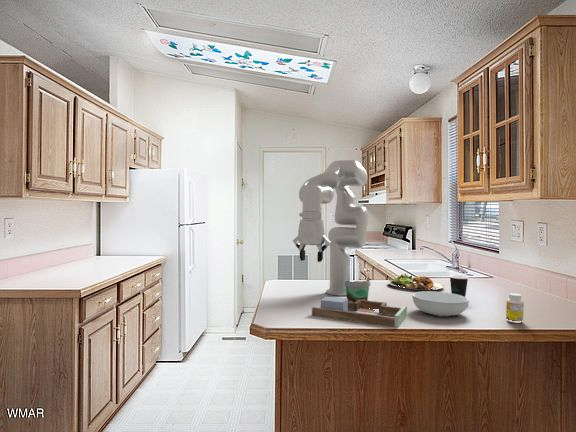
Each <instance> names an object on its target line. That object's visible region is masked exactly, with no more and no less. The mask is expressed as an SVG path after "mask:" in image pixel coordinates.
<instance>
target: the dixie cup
mask: <svg viewBox="0 0 576 432" xmlns="http://www.w3.org/2000/svg"><path fill="white" fill-rule="evenodd" d="M448 277H449V279H450V293H452V294H457V295H461V296H464V297H466V294H467V287H468V280H469V277H468V276H466V275H459V274H456V275H455V274H453V275H449V276H448Z"/></svg>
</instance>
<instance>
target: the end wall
mask: <svg viewBox="0 0 576 432" xmlns="http://www.w3.org/2000/svg"><path fill="white" fill-rule="evenodd" d="M400 308H401V309H400V310H399V311H398V312H397V314H396V315H395V316H394V317H395V328H399V327H400V326H401V324H402V323H403V322H404V320H405V319H406V318H407V317H408V316H407V313H408V306H407V305H403V306H402V307H400ZM406 316H407V317H406ZM405 317H406V318H405ZM404 318H405V319H404ZM402 321H403V322H402ZM401 322H402V323H401Z"/></svg>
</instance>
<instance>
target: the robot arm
mask: <svg viewBox="0 0 576 432" xmlns="http://www.w3.org/2000/svg"><path fill="white" fill-rule="evenodd" d="M367 182H368V172H367V170H366V169H365V168H364V167H363V165H362V163H360V162H359V161H358V160H355V159H344V160H343V159H342V160H341V159H340V160H338V159H337V160H333V161H332V162H331V163H330V164H329V165H328V167H327V168H326V169H325V170H324V172H322V173H320V174H319V173H318V174H317V175H316V176H313V177H310V178H309V179H307V180H305V182H304V183H303V184H302V185H301V187H300V189H299V191H298V198H299V200H300V202H301V203H302V211H301V212H300V213H299V217H301V219H300V220H299V223H298V231H297V232H298V233H297V236H296V237H295V238H294V239H292V242H293V244H294V245H295V247H296V248H297V249H298V251H299V258H300V262H302V261H305V260H306V250H305V248H306V246H316V247H317V250H318V252H317V257H316V259H317V262H316V263H321V262H322V261H323V259H324V251H325V250H326V249H327V248H328V247H329V288H328V289H326V291H325V293H326V294H327V295H330V296H337V297H345V296H346V286H344V285H345V282H346V281H350V282H351V280H350V279H351V255H350V253H349V251H348V249H351V248H353V249H361V248H363V247H364V246H365V244H366V240H367V230H368V222H369V213H368V209H367V208H366V207H365V206H362V205H355V195H354V194H353V192H352V191H351V190H350V188H349V187H363V186H365V185H366V184H367ZM334 191H335V193H336V205H335V209H334V210H335V211H334V222H335V223H336V225H339V226H334V227H332V228H331V229H330V230H329V231H328V237H326V235H325V225H324V220H323V219H322V204H324V205H325V204H326V205H327V204H329V203H331V202H332V201H333V200H334V198H335V197H334V196H335V193H334ZM352 226H353V227H352ZM346 248H347V249H346ZM346 297H347V296H346Z"/></svg>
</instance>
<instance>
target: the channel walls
mask: <svg viewBox="0 0 576 432" xmlns="http://www.w3.org/2000/svg"><path fill="white" fill-rule="evenodd" d="M387 303H388V302H382V301H377V300H375V301H373V300H368V301H366V300H358V301H356V302H355V303H354V302H348V311H340V310H332V309H324V308H321V307H316V306H313V307H311V317H318V318H326V319H333V320H340V321H349V322H357V323H363V324H370V323H371V324H372V325H378V324H379V325H378V326H385V325H386V326H387V327H395V316H393V315H396V314H397V312H398V311H399V310H400V309H401V308H402V307H396V306H388V305H387ZM361 308H370V309H379V313H382V314H379V313H378V314H379V315H378V314H372V313H364V312H363V313H362V312H358V310H360V309H361ZM385 314H391V315H390V316H389V315H385ZM395 328H396V327H395Z"/></svg>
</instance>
